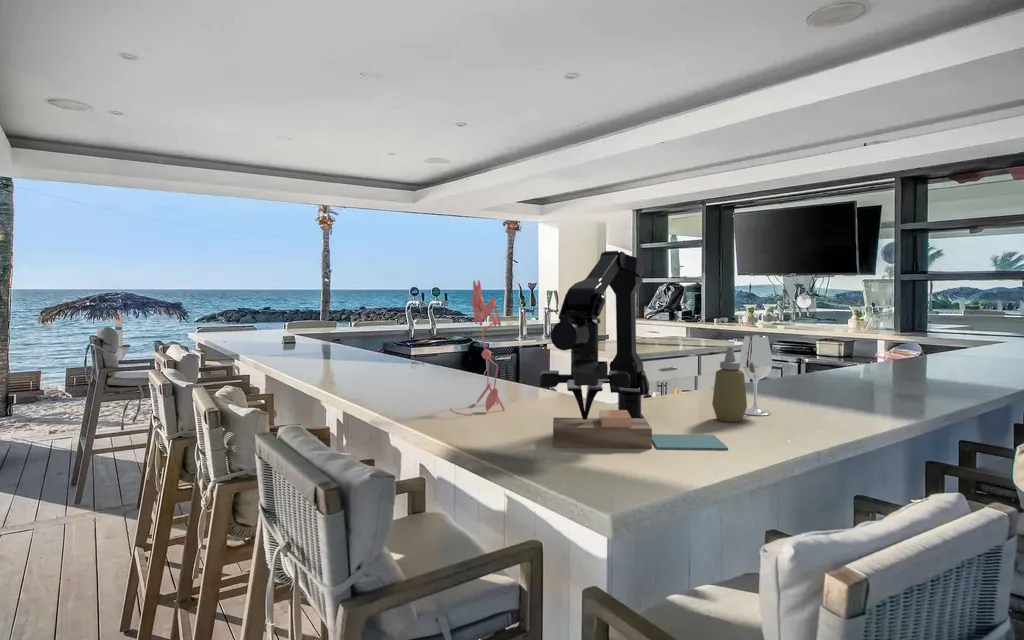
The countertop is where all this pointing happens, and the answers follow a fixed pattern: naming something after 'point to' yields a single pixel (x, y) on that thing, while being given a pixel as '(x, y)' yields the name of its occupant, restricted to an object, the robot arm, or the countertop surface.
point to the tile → (615, 418)
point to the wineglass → (756, 365)
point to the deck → (600, 434)
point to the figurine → (484, 312)
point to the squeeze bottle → (729, 390)
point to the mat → (687, 442)
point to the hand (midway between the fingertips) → (584, 419)
